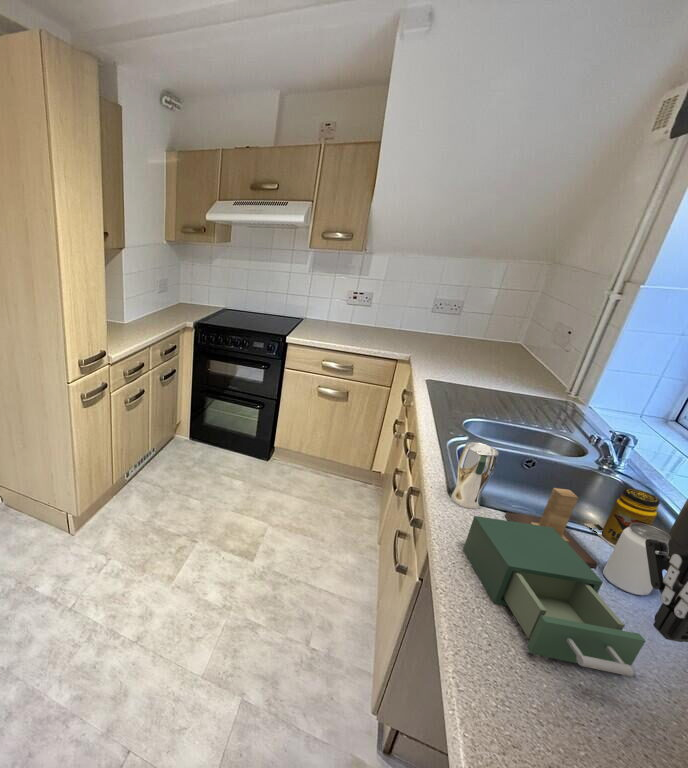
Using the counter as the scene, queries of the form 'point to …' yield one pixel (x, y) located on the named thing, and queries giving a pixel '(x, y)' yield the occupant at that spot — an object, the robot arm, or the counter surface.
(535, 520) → the thin wooden plank
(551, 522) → the wooden block
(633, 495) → the condiment
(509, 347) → the counter surface
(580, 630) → the drawer
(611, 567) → the can
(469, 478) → the beer glass
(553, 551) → the cabinet
